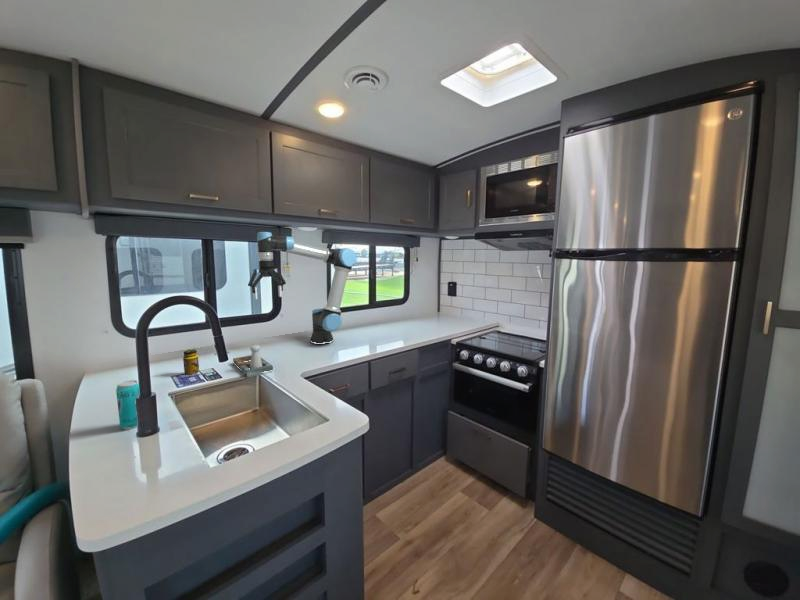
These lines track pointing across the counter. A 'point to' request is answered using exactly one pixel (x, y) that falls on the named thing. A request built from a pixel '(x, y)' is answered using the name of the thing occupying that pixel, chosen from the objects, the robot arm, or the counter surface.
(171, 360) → the counter surface
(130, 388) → the beverage can
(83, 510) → the counter surface
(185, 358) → the condiment
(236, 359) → the grey rectangular tray
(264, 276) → the robot arm
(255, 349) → the salt shaker
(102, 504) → the counter surface
